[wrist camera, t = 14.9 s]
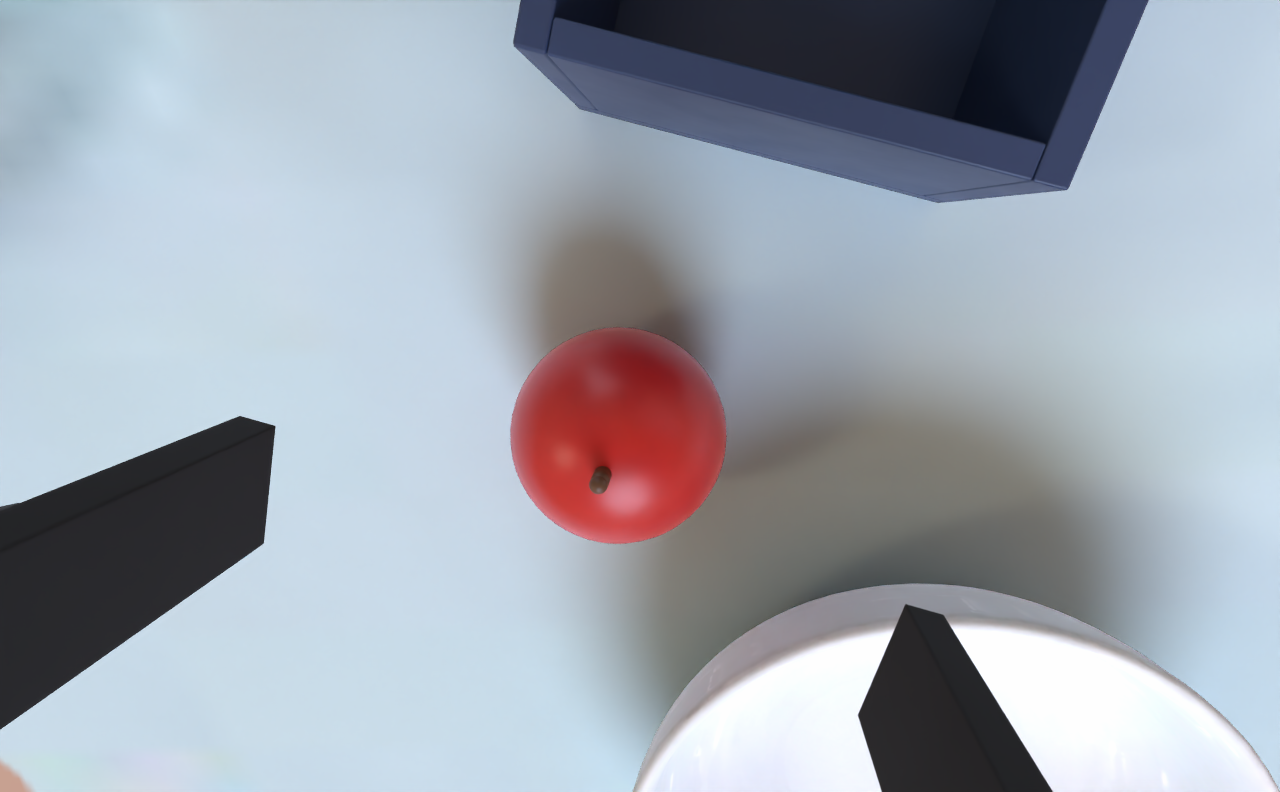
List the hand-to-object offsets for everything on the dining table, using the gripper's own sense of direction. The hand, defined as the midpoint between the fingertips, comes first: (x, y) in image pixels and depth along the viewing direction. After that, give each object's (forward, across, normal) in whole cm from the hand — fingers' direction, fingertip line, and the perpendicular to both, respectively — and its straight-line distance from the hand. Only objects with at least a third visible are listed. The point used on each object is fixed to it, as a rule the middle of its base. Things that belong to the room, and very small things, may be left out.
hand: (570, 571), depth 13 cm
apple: (+8, 0, 0) cm, 8 cm away
